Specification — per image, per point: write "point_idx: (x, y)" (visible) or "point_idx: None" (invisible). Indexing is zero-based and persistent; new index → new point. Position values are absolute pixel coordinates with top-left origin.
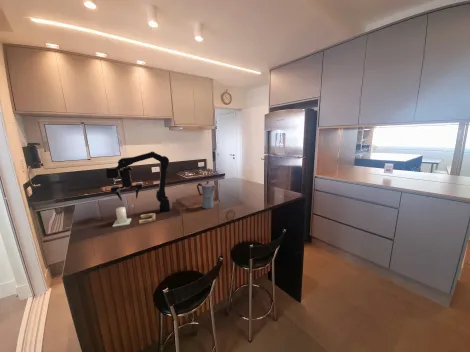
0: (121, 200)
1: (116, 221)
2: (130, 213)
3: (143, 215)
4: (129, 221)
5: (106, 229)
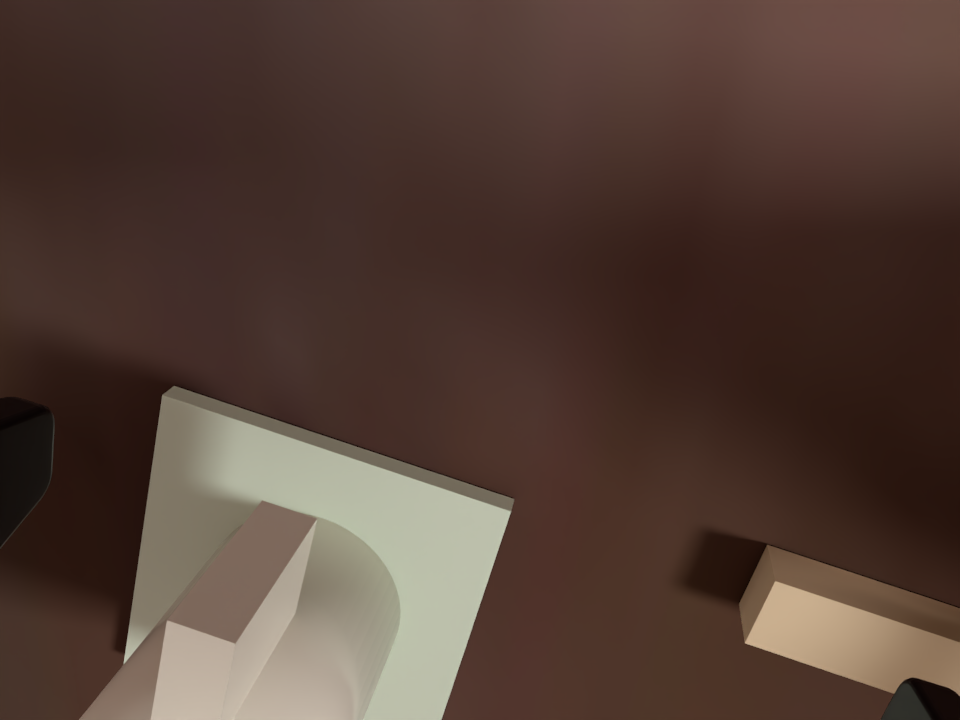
0: (18, 514)
1: (180, 487)
2: (567, 11)
3: (814, 664)
4: (444, 684)
5: (42, 683)
